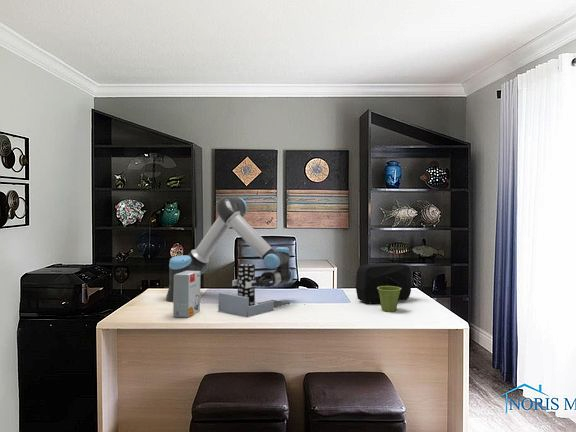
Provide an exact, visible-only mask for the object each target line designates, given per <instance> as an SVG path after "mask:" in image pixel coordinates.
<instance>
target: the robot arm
mask: <svg viewBox="0 0 576 432" xmlns="http://www.w3.org/2000/svg"><path fill="white" fill-rule="evenodd" d="M247 205H248V204H247V203H246V200H244V199H243V198H241V197H238V196H224V197H221V198H220V199H218V201H217V203H216V206H215V211H216V213H217V218H216V220H215V221H214V222H213V224H212V225H211V227H210V228H209V229H208V230H207V233H206V234H205V235H204V237H203V238H202V239H201V241H200V242H199V244H198V246H197V247H196V248H195V249H191V251H190V252H189V254H188V255H187V254H186V255H175V256H173V257H171V258H170V259H169V264H168V267H169V286H168V289H167V293H166V296H165V300H166V301H168V302H172V303H173V296H174V275H175V274H178V273H181V272H184V271H200V276H202V275H203V274H204V273H205V272H206V271H207V269H208V264H209V262H210V259H209V257H210V256H211V255H212V253H213V252H214V251H215V249H216V248H217V246H218V245H219V244H220V242H221V240H222V239H223V237H224V236H225V235H226V233H227V232H228V231H229V229H230V227H231V228H232V229H233V230H234V231H235V232H236V234H238V235H239V236H240V237H241V239H242V240H244V242H245V243H246V244H247V245H248V246H250V248H251V249H252V250H253V251H254V252H255V253H256V255H258V256H259V257H260V258H261V259H262V260H263V264H264V267H266V268H267V269H270V271H264V272H262V273H261V275H257V276H255V281H251V282H246V288H251V287H255V288H256V287H260V288H262V287H267V288H268V287H269V288H270V287H271V286H272V287H275V286H279V285H283V284H288V283H291V282H292V281H293V279H294V273H293V270H292V269H290V268H291V267H290V258H291V257H290V256H291V254H290V248H289V247H285V246H282V247H281V246H280V247H278V246H277V247H276V248H275V250H274V249H273V248H272V247H271V245H270V244H269V243H268V242H267V241H266V240H265V239H264V238H263V237H262V236H261V235H260V234H259V233H258V232H257V231H256V230H255V229H254V228H253V227H252V225H250V224H249V222H247V220H246V219H244V216H245V215H246V214H247V212H248V206H247ZM274 269H275V270H274ZM231 284H232V287H236V286H237V287H238V279H233V280H232V283H231Z"/></svg>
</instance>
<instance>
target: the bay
mask: <svg viewBox="0 0 576 432" xmlns="http://www.w3.org/2000/svg"><path fill="white" fill-rule="evenodd" d="M268 301H269V300H268ZM264 302H265V301H264ZM274 310H275V308H274V301H269V302H265V303H261V304H255V305H252V306H249V297H243V296H238V294H236V295H235V294H232V293H225V292H218V312H220V313H221V312H222V313H225V314H230V315H236V316H241V317H245V318H249V317H252V316H253V317H254V316H257V315H260V314H264V313H269V312H273V311H274Z"/></svg>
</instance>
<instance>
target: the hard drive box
mask: <svg viewBox="0 0 576 432" xmlns="http://www.w3.org/2000/svg"><path fill="white" fill-rule="evenodd" d="M172 304H173V306H172V307H173V308H172V309H173V311H172V312H173V313H172V316H173V318H175V317H176V318H190V317H192V316H193V315H195V314H197V313H199V312H201V275H200V271H184V272H181V273H178V274H175V275H174V296H173V302H172Z"/></svg>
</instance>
